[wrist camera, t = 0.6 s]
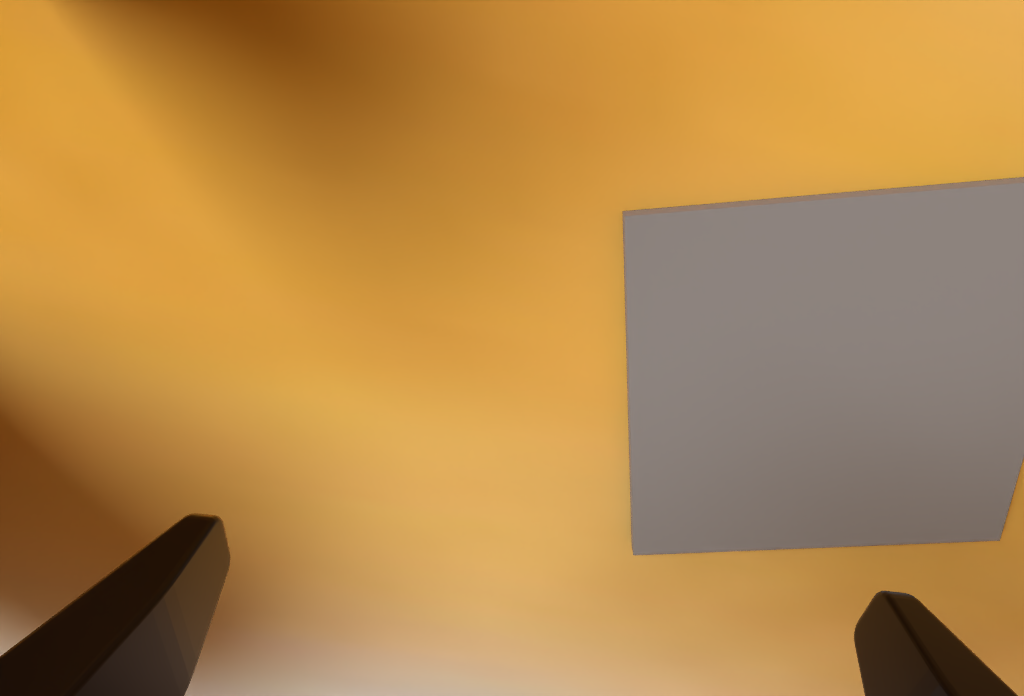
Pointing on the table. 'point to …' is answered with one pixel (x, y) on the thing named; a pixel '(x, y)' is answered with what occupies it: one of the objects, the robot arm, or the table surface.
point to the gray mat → (825, 368)
